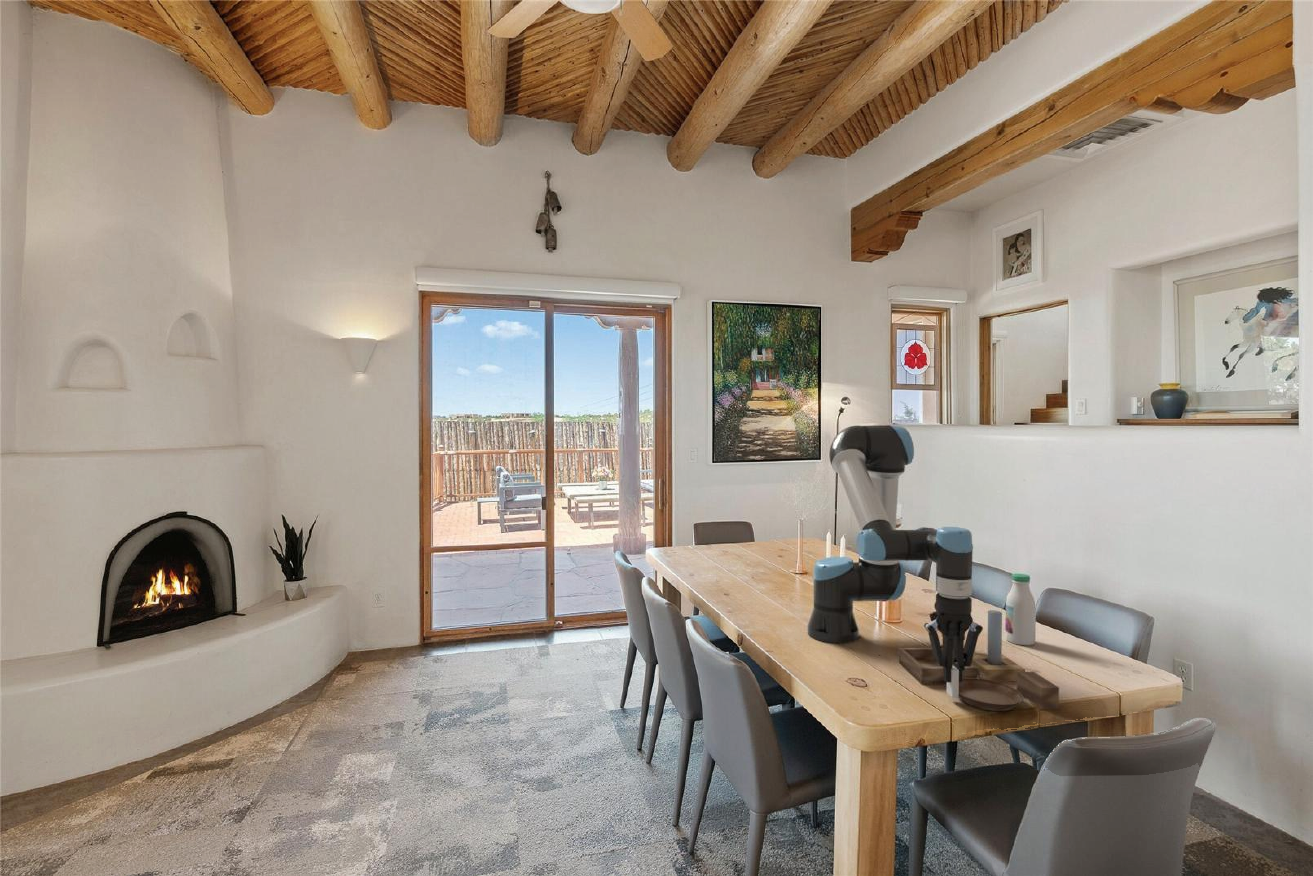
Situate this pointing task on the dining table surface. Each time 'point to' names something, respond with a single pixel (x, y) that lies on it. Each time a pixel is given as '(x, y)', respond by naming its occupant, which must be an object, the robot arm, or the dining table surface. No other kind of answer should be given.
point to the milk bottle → (1020, 612)
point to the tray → (927, 666)
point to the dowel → (994, 637)
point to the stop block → (1038, 690)
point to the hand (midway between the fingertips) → (952, 695)
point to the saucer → (989, 694)
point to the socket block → (996, 669)
